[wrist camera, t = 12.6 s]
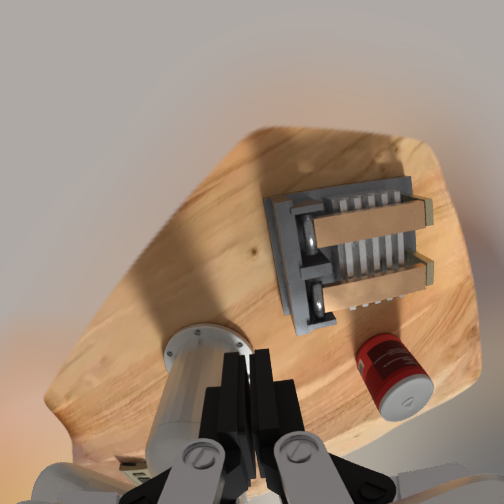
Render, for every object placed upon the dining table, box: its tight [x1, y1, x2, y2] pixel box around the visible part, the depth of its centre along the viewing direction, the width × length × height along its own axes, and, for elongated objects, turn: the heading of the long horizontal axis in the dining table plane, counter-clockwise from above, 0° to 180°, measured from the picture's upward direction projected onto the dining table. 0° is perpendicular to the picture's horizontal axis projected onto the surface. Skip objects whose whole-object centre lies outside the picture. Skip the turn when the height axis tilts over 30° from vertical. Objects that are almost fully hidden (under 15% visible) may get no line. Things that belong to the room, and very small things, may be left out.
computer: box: [119, 462, 152, 486], centre depth 47 cm, size 16×8×3 cm, turn 19°
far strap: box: [310, 263, 426, 319], centre depth 29 cm, size 4×13×1 cm, turn 101°
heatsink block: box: [263, 176, 434, 336], centre depth 31 cm, size 14×18×7 cm
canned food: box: [357, 333, 434, 422], centre depth 34 cm, size 8×8×11 cm
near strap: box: [300, 200, 426, 255], centre depth 27 cm, size 4×13×1 cm, turn 101°
